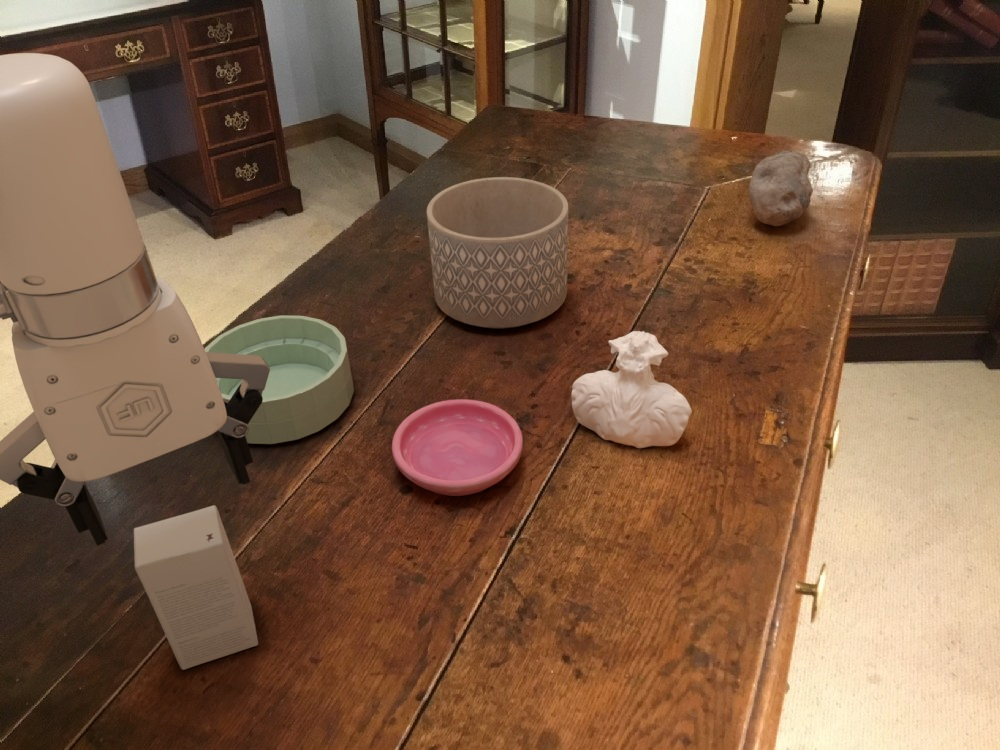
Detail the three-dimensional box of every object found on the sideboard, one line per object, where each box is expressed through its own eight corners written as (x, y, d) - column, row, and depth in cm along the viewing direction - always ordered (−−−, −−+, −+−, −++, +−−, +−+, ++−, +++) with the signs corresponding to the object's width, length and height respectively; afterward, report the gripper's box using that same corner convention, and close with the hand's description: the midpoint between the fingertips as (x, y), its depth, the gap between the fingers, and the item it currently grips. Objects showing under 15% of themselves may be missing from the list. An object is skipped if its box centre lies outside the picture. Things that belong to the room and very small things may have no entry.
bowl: (236, 468, 83) (221, 421, 79) (193, 389, 94) (178, 344, 90) (377, 413, 89) (370, 367, 86) (322, 344, 100) (313, 300, 96)
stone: (821, 202, 125) (835, 136, 119) (795, 244, 115) (809, 174, 109) (762, 190, 128) (772, 126, 122) (732, 230, 118) (742, 162, 112)
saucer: (512, 415, 88) (511, 391, 86) (533, 500, 78) (532, 475, 76) (392, 429, 87) (389, 405, 85) (398, 517, 77) (394, 492, 75)
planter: (419, 282, 110) (409, 191, 103) (535, 256, 115) (535, 167, 107) (460, 350, 98) (452, 252, 90) (589, 318, 102) (592, 222, 95)
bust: (686, 457, 85) (711, 347, 85) (676, 461, 78) (703, 341, 78) (573, 428, 89) (596, 324, 89) (553, 430, 82) (578, 316, 82)
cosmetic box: (252, 605, 70) (218, 502, 63) (259, 647, 67) (225, 543, 59) (175, 629, 68) (131, 526, 61) (179, 673, 65) (133, 569, 58)
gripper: (-83, 375, 42) (46, 595, 53) (254, 269, 49) (309, 482, 59) (-90, 308, 47) (29, 520, 58) (216, 220, 54) (272, 424, 64)
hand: (171, 500), depth 58 cm, fingers open, 9 cm apart
